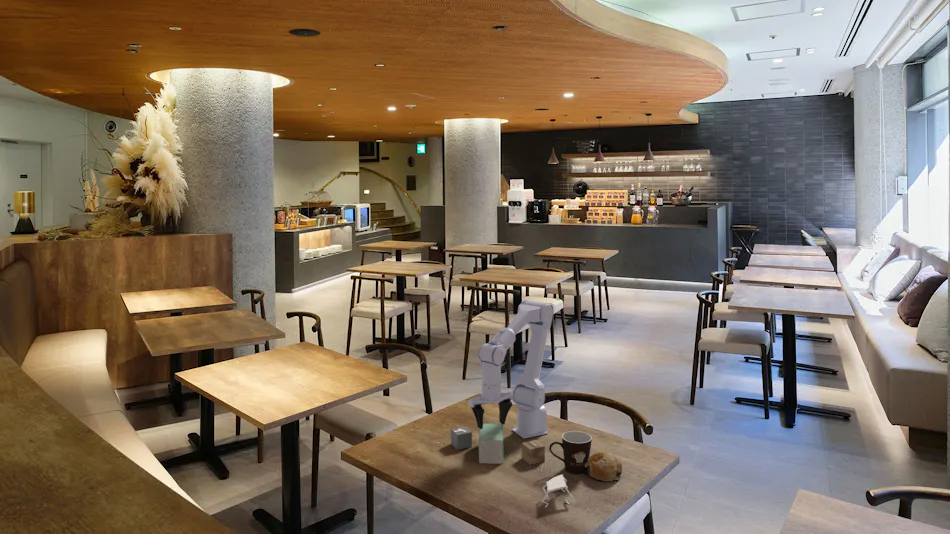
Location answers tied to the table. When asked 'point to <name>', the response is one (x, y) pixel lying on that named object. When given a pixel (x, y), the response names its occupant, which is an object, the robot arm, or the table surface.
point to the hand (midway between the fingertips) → (491, 425)
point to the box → (491, 444)
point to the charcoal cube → (461, 438)
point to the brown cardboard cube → (533, 452)
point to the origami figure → (556, 487)
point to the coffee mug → (574, 451)
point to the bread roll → (604, 466)
